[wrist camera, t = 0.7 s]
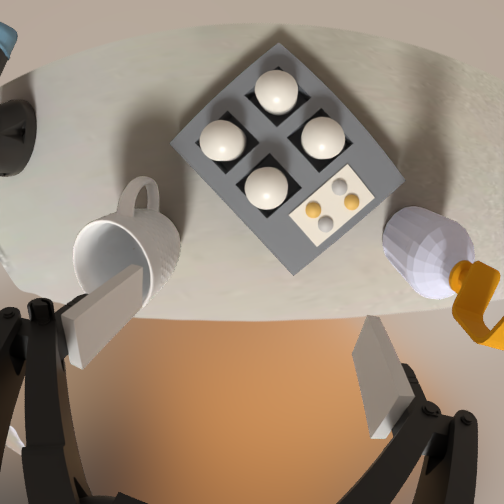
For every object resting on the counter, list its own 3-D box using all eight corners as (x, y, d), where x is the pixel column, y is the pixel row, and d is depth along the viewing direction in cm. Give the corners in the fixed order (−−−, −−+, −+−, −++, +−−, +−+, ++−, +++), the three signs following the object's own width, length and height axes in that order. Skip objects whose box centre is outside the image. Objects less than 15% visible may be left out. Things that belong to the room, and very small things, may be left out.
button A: (203, 143, 34) (191, 140, 29) (229, 117, 32) (220, 111, 28) (228, 168, 34) (219, 169, 30) (254, 143, 33) (249, 140, 29)
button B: (251, 97, 31) (246, 88, 27) (278, 74, 30) (276, 62, 26) (277, 122, 32) (275, 117, 28) (304, 99, 31) (306, 90, 26)
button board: (180, 145, 37) (167, 143, 32) (280, 53, 31) (278, 41, 27) (293, 264, 40) (293, 277, 35) (394, 178, 34) (407, 180, 30)
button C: (242, 184, 35) (236, 187, 30) (270, 159, 33) (267, 158, 29) (268, 211, 35) (264, 218, 31) (295, 186, 34) (296, 190, 30)
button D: (292, 138, 32) (293, 135, 28) (320, 115, 31) (324, 108, 27) (318, 166, 33) (322, 167, 29) (345, 143, 32) (353, 140, 27)
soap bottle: (446, 219, 35) (569, 286, 11) (422, 276, 38) (516, 383, 14) (395, 195, 35) (519, 248, 12) (371, 258, 38) (452, 375, 15)
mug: (131, 168, 38) (72, 175, 26) (202, 179, 38) (162, 189, 25) (124, 265, 43) (74, 300, 31) (188, 282, 42) (152, 328, 30)
